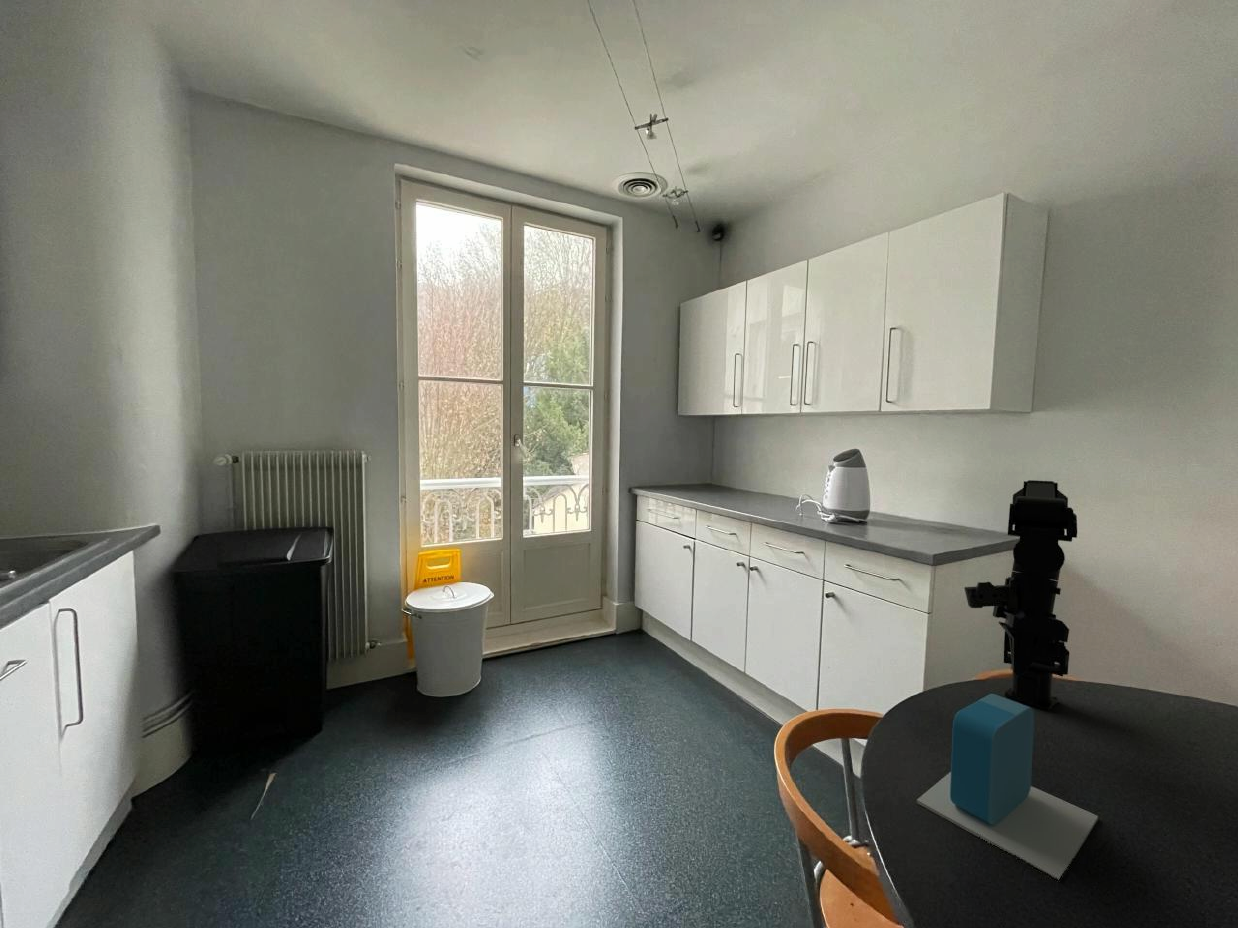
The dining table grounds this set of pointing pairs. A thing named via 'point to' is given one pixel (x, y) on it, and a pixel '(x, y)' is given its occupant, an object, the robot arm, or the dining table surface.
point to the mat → (1023, 826)
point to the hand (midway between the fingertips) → (1017, 673)
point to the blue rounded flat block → (991, 757)
